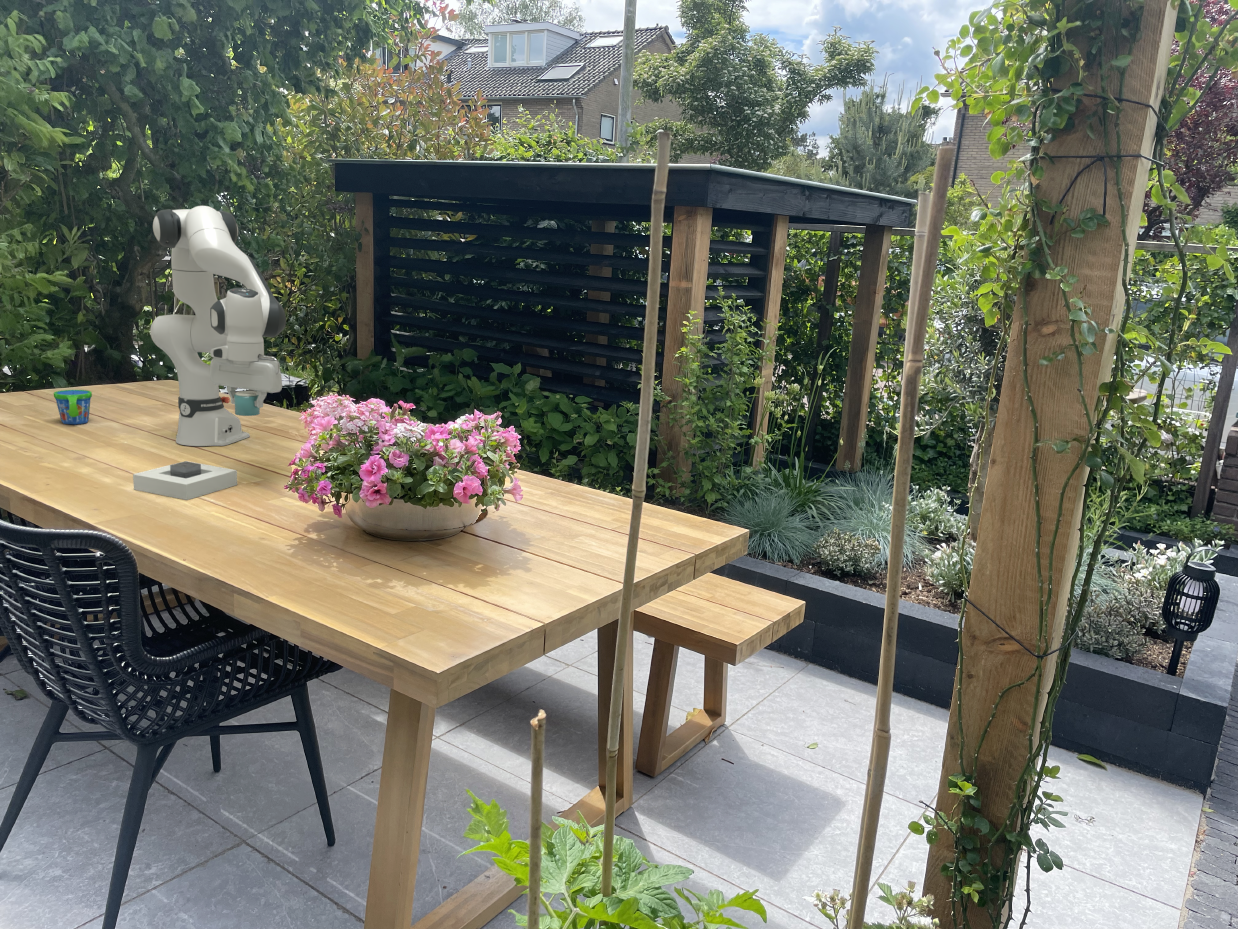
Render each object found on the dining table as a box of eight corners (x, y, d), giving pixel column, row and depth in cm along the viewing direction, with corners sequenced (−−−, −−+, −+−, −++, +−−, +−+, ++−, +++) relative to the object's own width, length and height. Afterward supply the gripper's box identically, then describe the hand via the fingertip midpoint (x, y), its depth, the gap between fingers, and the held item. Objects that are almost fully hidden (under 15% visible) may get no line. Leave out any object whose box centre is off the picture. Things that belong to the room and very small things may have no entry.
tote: (186, 475, 239) (186, 460, 238) (237, 484, 234) (236, 470, 233) (133, 489, 224) (132, 474, 223) (186, 500, 218) (186, 484, 217)
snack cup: (60, 418, 293) (57, 387, 291) (96, 417, 298) (94, 387, 295) (52, 428, 280) (49, 396, 277) (90, 427, 284) (88, 396, 281)
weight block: (186, 479, 232) (185, 461, 231) (201, 482, 230) (200, 464, 229) (171, 484, 227) (170, 465, 226) (186, 487, 226) (185, 468, 224)
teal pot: (246, 410, 236) (245, 389, 234) (264, 413, 234) (264, 392, 233) (229, 413, 230) (229, 392, 229) (248, 416, 228) (248, 395, 227)
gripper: (287, 356, 228) (288, 408, 231) (223, 347, 234) (225, 399, 238) (270, 358, 222) (271, 412, 226) (205, 349, 228) (207, 402, 232)
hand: (247, 405), depth 232 cm, fingers closed on teal pot, 6 cm apart
